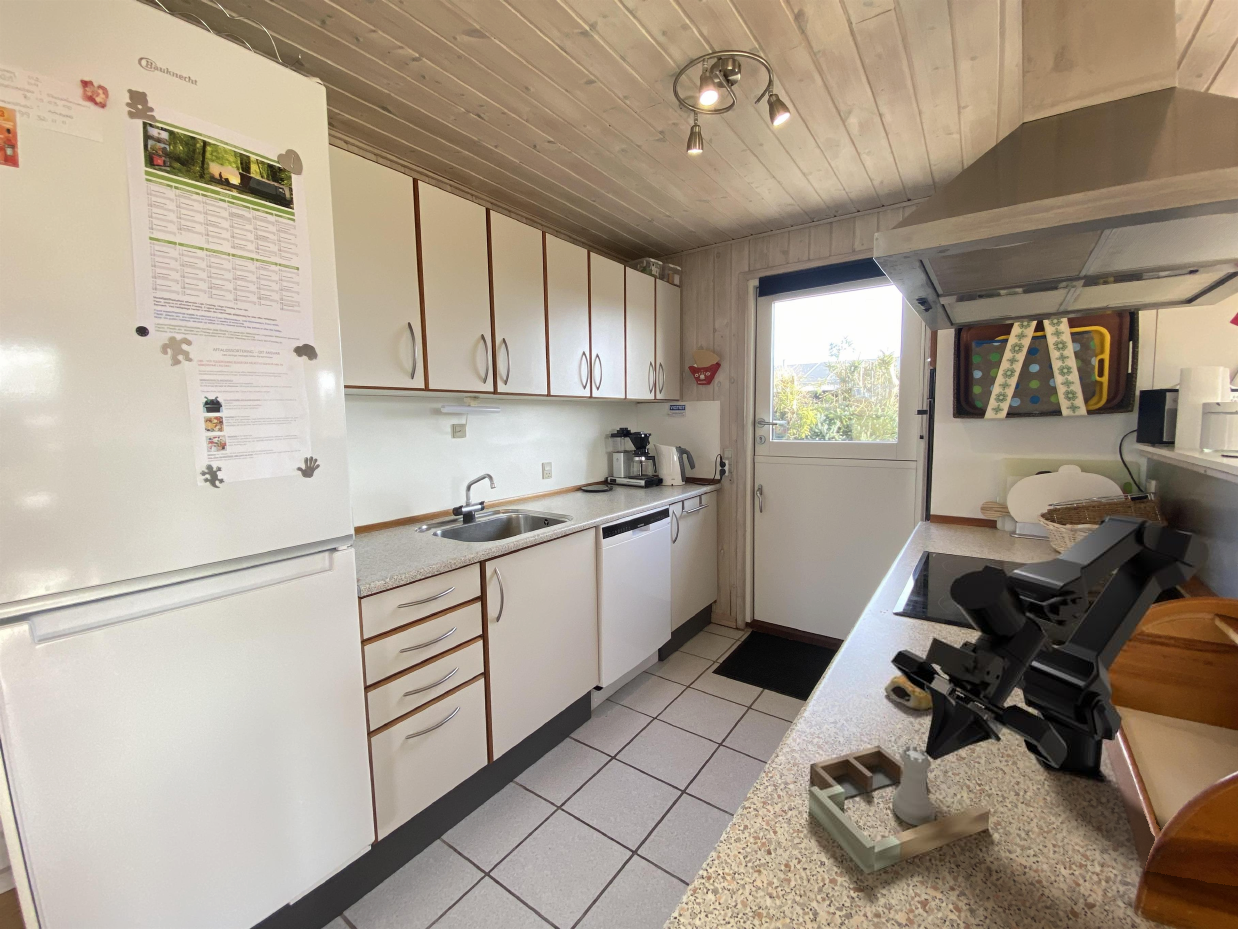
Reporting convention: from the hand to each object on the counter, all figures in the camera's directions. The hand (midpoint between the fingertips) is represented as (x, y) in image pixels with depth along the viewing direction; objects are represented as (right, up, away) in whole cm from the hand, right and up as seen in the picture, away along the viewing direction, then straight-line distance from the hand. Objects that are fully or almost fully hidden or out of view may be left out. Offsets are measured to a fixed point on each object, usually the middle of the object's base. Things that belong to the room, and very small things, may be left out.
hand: (929, 756), depth 61 cm
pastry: (+13, -5, +25) cm, 28 cm away
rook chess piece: (-2, -7, 0) cm, 7 cm away
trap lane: (-5, -7, +1) cm, 9 cm away
